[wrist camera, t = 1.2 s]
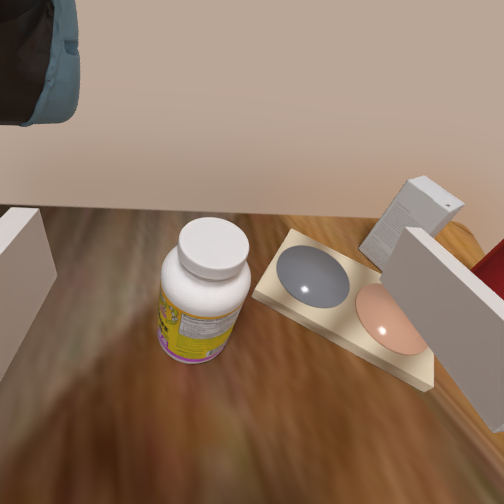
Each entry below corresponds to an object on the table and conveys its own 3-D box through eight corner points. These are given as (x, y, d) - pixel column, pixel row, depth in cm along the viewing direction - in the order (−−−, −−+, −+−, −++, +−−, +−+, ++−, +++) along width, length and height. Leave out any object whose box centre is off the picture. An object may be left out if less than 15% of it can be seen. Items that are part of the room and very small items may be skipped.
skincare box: (405, 269, 44) (467, 204, 36) (388, 279, 42) (451, 212, 33) (373, 240, 47) (424, 173, 38) (356, 248, 44) (406, 179, 36)
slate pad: (264, 282, 34) (265, 280, 34) (291, 236, 40) (291, 234, 40) (339, 322, 33) (340, 321, 33) (354, 269, 39) (356, 267, 39)
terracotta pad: (348, 327, 33) (349, 326, 32) (362, 273, 39) (363, 271, 39) (429, 371, 32) (430, 370, 31) (430, 308, 38) (431, 306, 38)
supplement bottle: (164, 298, 31) (172, 198, 22) (228, 307, 32) (262, 216, 23) (149, 363, 27) (153, 271, 18) (225, 371, 28) (265, 288, 19)
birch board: (251, 297, 34) (254, 289, 33) (287, 236, 42) (291, 228, 41) (423, 392, 32) (433, 387, 30) (426, 307, 40) (434, 301, 39)
